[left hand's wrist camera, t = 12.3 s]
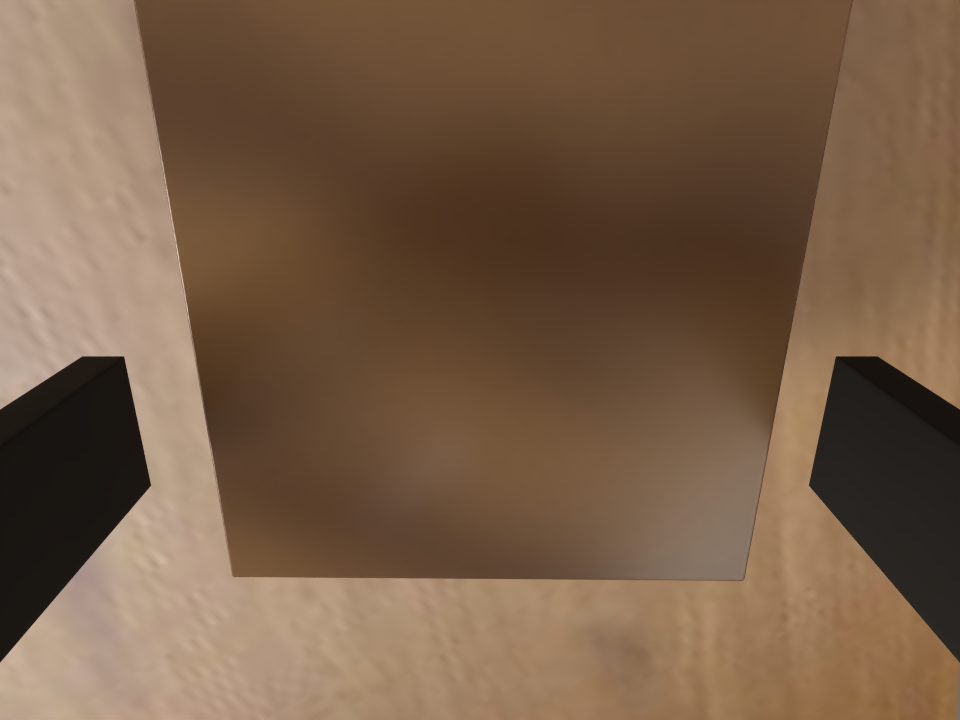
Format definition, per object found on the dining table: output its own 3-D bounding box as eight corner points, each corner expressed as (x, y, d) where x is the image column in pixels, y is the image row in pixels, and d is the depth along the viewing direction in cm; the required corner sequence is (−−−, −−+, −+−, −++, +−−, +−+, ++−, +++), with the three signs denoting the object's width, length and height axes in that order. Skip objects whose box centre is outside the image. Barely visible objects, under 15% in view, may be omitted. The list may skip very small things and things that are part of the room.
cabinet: (279, -212, 18) (33, -571, 8) (703, -213, 17) (962, -577, 8) (332, 385, 24) (231, 577, 14) (641, 386, 24) (744, 581, 14)
